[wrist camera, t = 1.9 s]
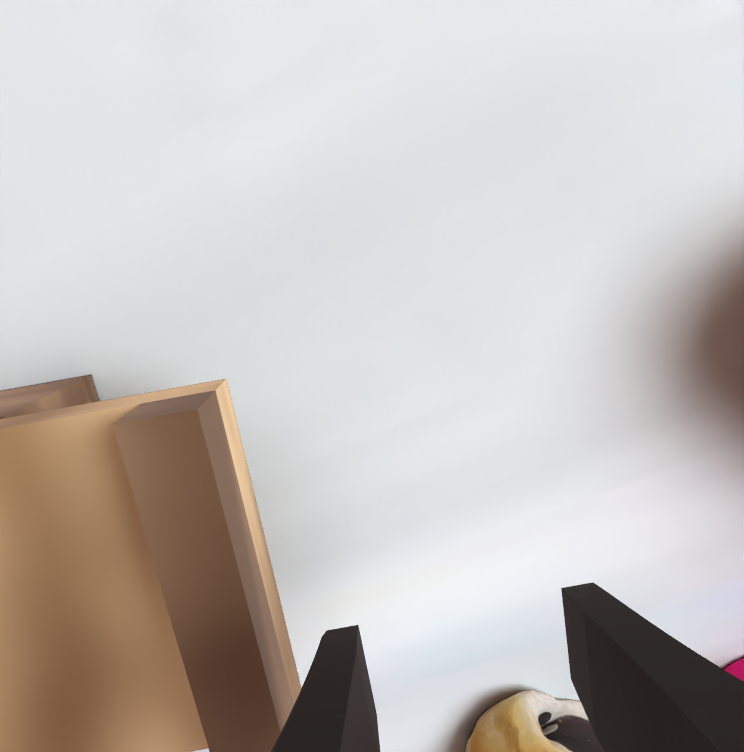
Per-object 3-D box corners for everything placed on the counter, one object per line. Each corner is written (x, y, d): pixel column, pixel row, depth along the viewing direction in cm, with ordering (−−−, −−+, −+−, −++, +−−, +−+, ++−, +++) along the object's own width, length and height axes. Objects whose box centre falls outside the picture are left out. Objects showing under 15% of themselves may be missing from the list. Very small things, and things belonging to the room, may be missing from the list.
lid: (-91, 768, 16) (-179, 872, 14) (-232, 460, 14) (-372, 511, 11) (303, 697, 16) (294, 786, 14) (226, 378, 14) (197, 409, 11)
